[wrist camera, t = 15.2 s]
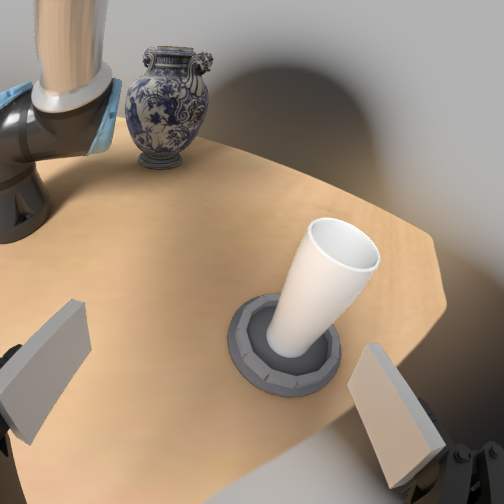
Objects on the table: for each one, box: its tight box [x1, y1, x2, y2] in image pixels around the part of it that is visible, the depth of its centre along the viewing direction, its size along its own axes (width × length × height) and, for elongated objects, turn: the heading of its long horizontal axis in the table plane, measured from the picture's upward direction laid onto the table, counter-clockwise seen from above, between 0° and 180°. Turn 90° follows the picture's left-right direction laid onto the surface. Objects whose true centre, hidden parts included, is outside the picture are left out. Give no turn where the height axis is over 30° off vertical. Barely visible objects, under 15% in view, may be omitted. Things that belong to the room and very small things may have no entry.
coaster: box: [228, 293, 341, 397], centre depth 30 cm, size 14×14×2 cm
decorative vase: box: [125, 46, 213, 169], centre depth 51 cm, size 21×19×28 cm
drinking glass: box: [266, 218, 380, 358], centre depth 26 cm, size 7×7×15 cm
